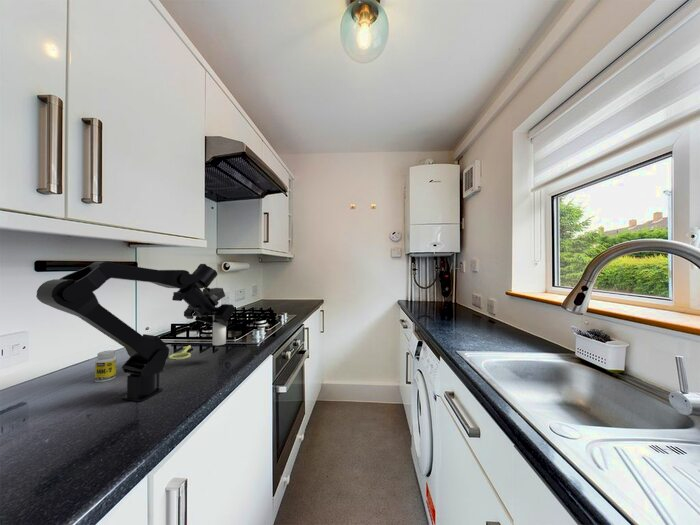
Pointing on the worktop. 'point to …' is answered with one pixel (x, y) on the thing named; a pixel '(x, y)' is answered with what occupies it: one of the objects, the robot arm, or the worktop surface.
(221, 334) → the white bottle
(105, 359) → the supplement bottle
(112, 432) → the worktop surface
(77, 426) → the worktop surface
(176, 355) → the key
